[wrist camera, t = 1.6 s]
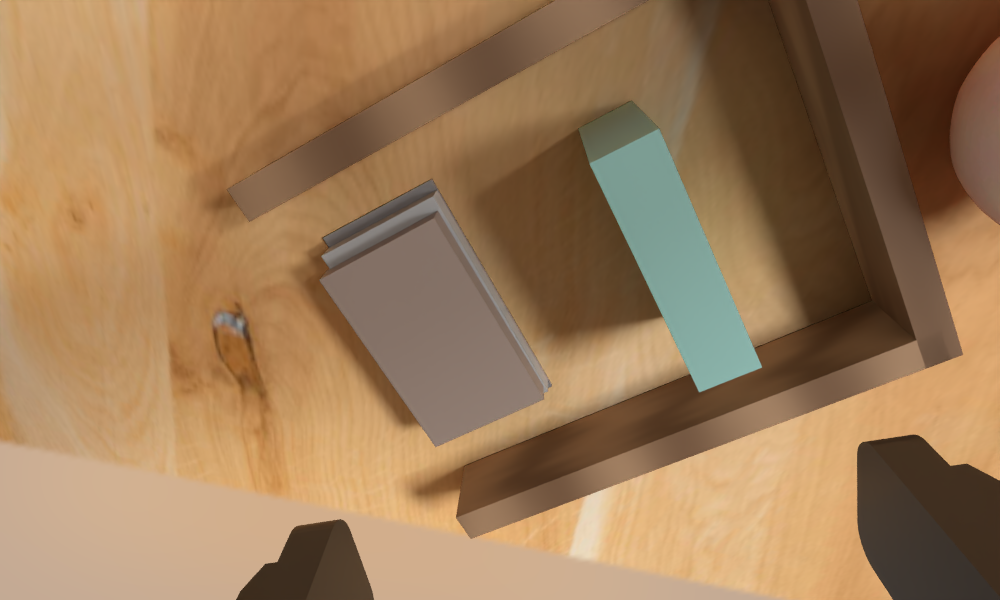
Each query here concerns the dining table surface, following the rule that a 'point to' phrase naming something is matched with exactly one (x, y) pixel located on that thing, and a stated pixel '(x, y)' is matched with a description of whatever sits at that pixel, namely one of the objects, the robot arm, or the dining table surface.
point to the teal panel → (669, 244)
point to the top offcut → (434, 330)
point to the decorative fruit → (979, 133)
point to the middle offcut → (436, 203)
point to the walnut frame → (785, 362)
